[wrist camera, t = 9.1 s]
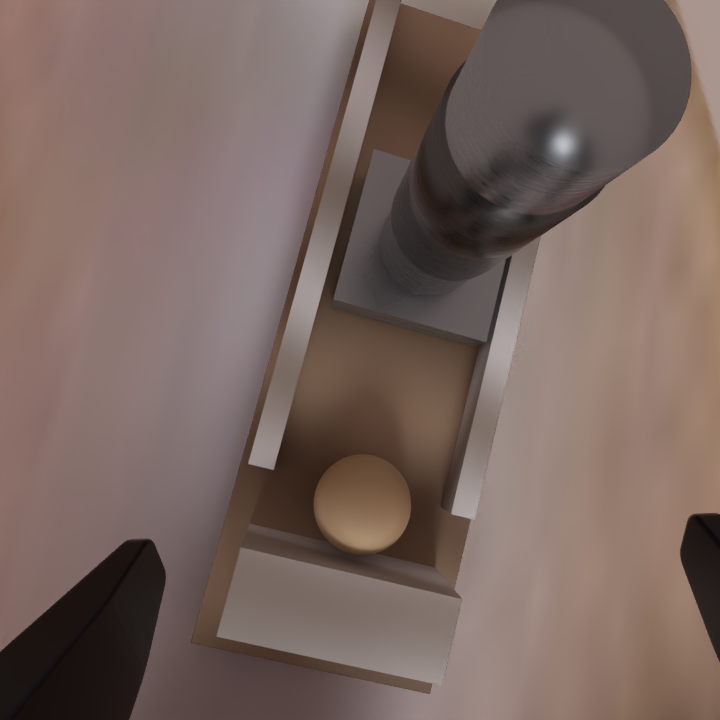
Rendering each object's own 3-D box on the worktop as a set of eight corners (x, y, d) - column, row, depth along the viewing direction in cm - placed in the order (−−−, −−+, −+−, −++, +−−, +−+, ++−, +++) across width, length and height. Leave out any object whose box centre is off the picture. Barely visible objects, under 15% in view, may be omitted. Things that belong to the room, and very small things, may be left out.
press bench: (419, 672, 20) (455, 750, 15) (198, 623, 19) (169, 691, 15) (558, 85, 22) (624, 6, 18) (365, 21, 21) (384, -78, 17)
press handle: (470, 346, 19) (712, 272, 8) (329, 307, 19) (381, 171, 8) (503, 211, 20) (773, -36, 9) (367, 169, 19) (466, -148, 8)
